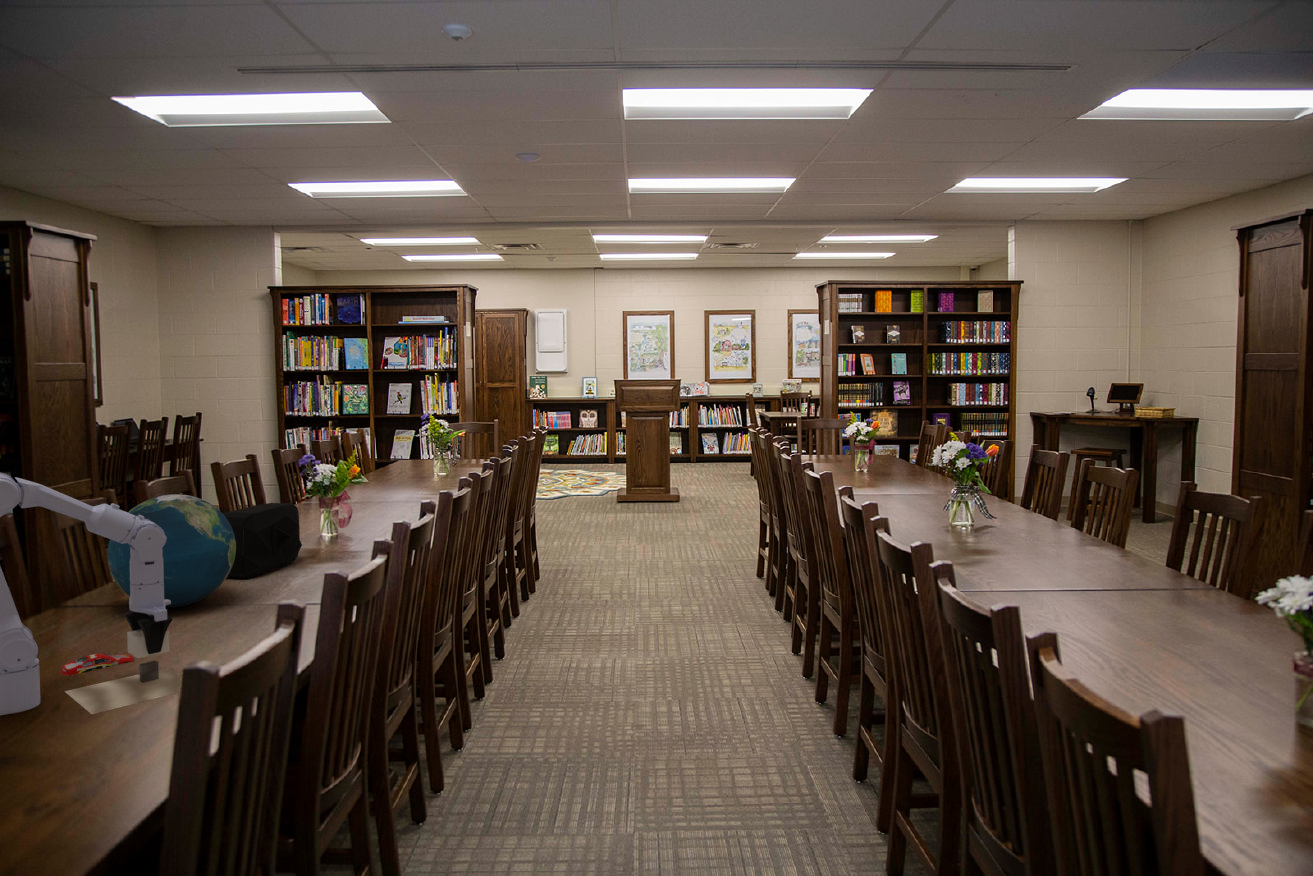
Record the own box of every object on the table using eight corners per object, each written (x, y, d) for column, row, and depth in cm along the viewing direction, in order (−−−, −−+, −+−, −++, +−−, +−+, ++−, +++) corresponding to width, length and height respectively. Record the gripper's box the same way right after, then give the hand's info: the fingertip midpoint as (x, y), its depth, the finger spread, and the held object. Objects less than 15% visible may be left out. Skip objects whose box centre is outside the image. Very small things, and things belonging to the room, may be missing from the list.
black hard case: (275, 559, 284) (275, 500, 282) (309, 561, 282) (308, 502, 280) (215, 580, 254) (214, 514, 252) (252, 582, 252) (251, 516, 251)
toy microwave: (138, 658, 163) (137, 637, 163) (127, 651, 167) (127, 631, 167) (169, 651, 168) (168, 630, 167) (158, 645, 171) (158, 625, 171)
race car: (129, 663, 183) (129, 644, 182) (139, 668, 179) (138, 650, 179) (57, 678, 172) (56, 659, 172) (66, 685, 169) (65, 665, 169)
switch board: (92, 722, 151) (91, 695, 151) (64, 699, 161) (63, 673, 161) (198, 695, 165) (198, 670, 164) (167, 675, 175) (166, 651, 175)
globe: (181, 625, 208) (179, 505, 206) (80, 616, 214) (76, 499, 212) (260, 596, 237) (259, 490, 235) (169, 588, 243) (167, 485, 241)
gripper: (183, 584, 165) (184, 652, 166) (155, 572, 174) (157, 636, 175) (143, 591, 159) (145, 661, 160) (116, 578, 169) (118, 644, 170)
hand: (148, 649), depth 167 cm, fingers closed on toy microwave, 6 cm apart
